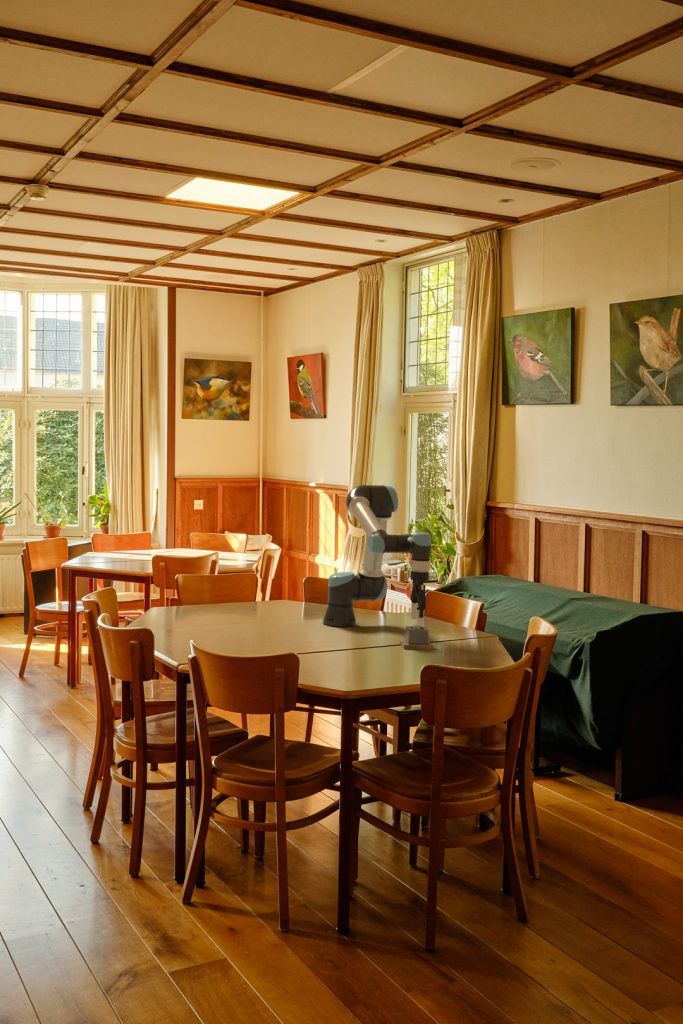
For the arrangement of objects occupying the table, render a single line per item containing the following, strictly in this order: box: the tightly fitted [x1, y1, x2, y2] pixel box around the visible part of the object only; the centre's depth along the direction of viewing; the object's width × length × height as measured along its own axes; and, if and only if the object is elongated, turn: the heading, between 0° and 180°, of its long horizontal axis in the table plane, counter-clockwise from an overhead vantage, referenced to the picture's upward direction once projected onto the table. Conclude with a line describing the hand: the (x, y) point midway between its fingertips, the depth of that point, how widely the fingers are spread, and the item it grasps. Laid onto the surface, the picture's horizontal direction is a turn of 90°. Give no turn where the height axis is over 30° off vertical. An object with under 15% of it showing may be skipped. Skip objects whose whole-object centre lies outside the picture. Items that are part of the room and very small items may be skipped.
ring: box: [404, 625, 430, 645], centre depth 409 cm, size 8×8×6 cm
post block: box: [398, 624, 435, 651], centre depth 408 cm, size 12×12×9 cm
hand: (416, 622), depth 409 cm, fingers open, 13 cm apart
